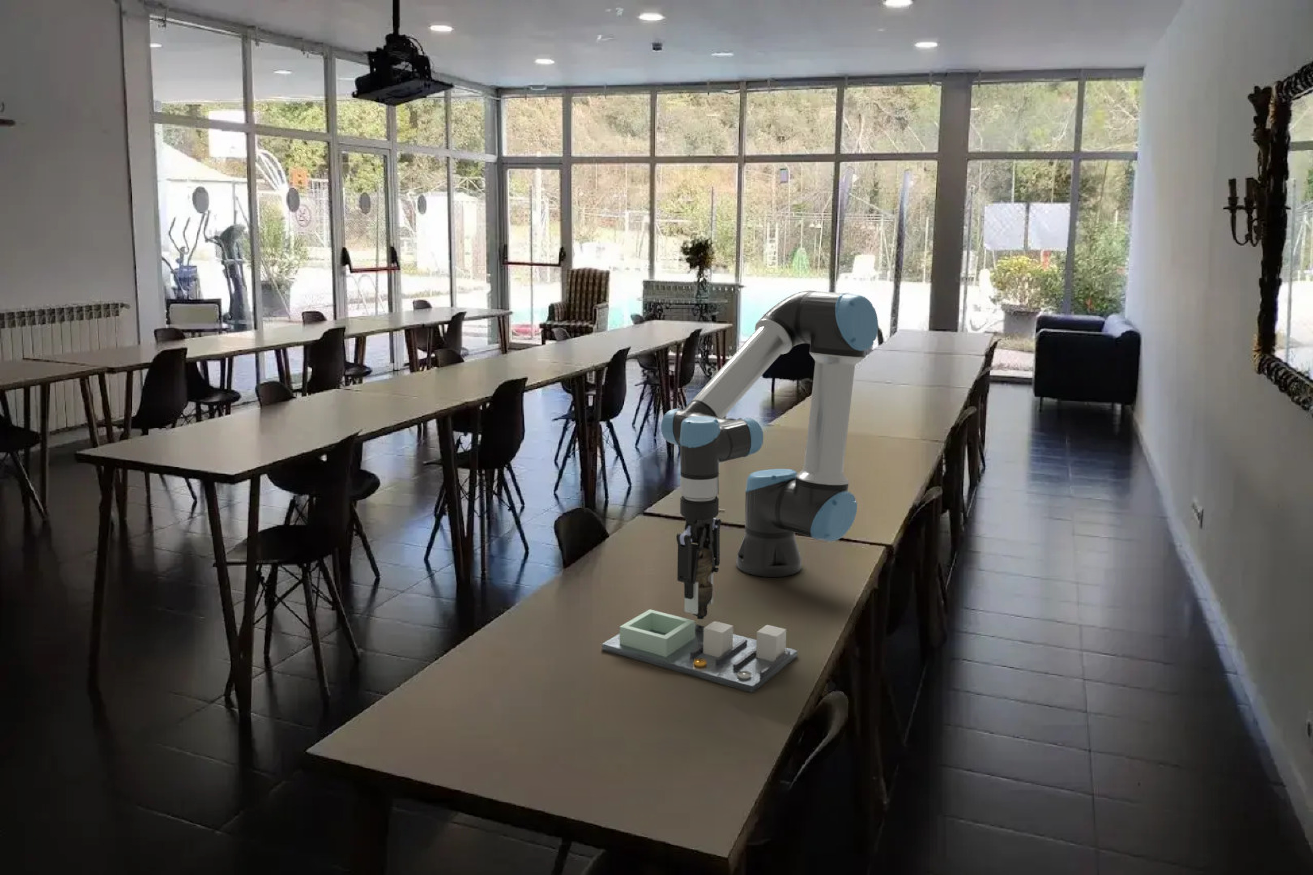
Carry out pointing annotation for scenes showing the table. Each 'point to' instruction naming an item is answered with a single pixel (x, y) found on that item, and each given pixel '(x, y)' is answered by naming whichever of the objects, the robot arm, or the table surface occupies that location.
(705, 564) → the light bulb
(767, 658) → the block
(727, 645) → the block
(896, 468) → the table surface
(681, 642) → the socket
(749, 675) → the panel
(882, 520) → the table surface
